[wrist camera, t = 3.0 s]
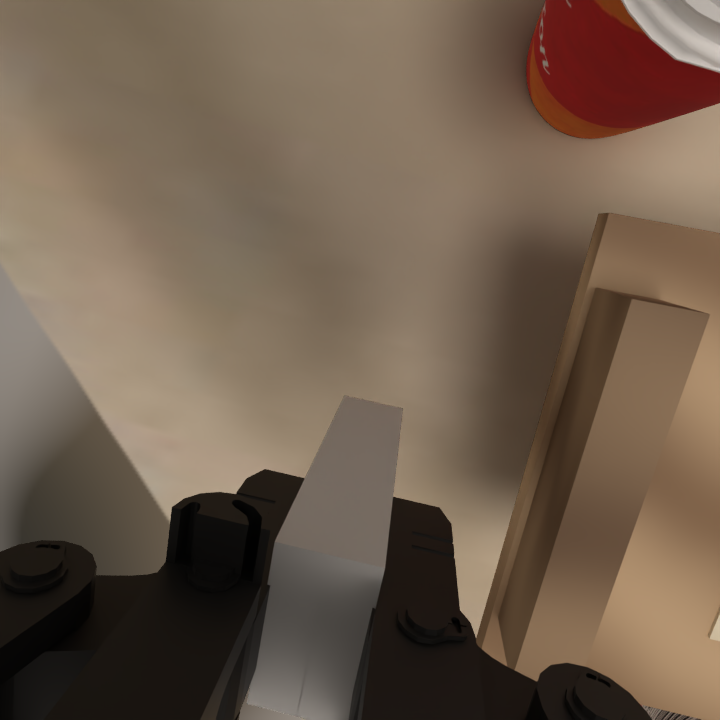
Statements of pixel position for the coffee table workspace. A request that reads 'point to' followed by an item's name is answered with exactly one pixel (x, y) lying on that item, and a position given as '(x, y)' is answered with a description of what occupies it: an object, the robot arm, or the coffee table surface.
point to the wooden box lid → (625, 480)
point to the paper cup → (623, 63)
